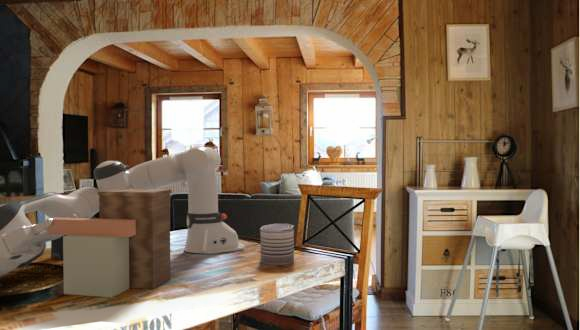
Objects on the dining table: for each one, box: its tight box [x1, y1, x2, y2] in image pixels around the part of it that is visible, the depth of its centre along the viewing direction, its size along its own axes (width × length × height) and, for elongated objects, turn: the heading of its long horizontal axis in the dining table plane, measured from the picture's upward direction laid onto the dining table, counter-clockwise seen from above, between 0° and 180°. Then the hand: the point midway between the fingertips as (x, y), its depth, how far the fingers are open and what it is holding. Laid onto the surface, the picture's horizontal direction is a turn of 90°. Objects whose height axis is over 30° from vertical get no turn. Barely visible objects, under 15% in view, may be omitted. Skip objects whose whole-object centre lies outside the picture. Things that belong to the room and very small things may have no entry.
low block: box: [62, 235, 130, 298], centre depth 126 cm, size 14×8×15 cm, turn 78°
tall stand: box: [97, 188, 172, 290], centre depth 135 cm, size 17×11×26 cm, turn 78°
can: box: [259, 223, 295, 266], centre depth 162 cm, size 11×11×12 cm
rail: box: [47, 217, 136, 237], centre depth 126 cm, size 24×4×4 cm, turn 78°
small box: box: [50, 235, 66, 261], centre depth 170 cm, size 11×6×10 cm, turn 148°
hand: (64, 218), depth 128 cm, fingers open, 8 cm apart
